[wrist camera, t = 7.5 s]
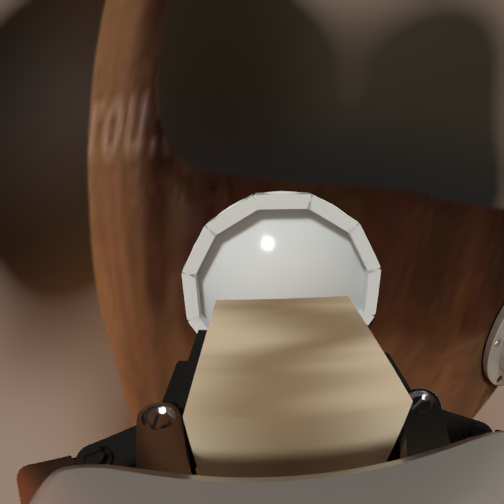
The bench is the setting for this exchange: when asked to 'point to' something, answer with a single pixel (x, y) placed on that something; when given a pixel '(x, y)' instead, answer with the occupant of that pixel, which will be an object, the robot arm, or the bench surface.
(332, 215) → the dish
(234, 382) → the maple block
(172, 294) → the bench surface
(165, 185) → the bench surface
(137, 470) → the robot arm
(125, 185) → the bench surface
